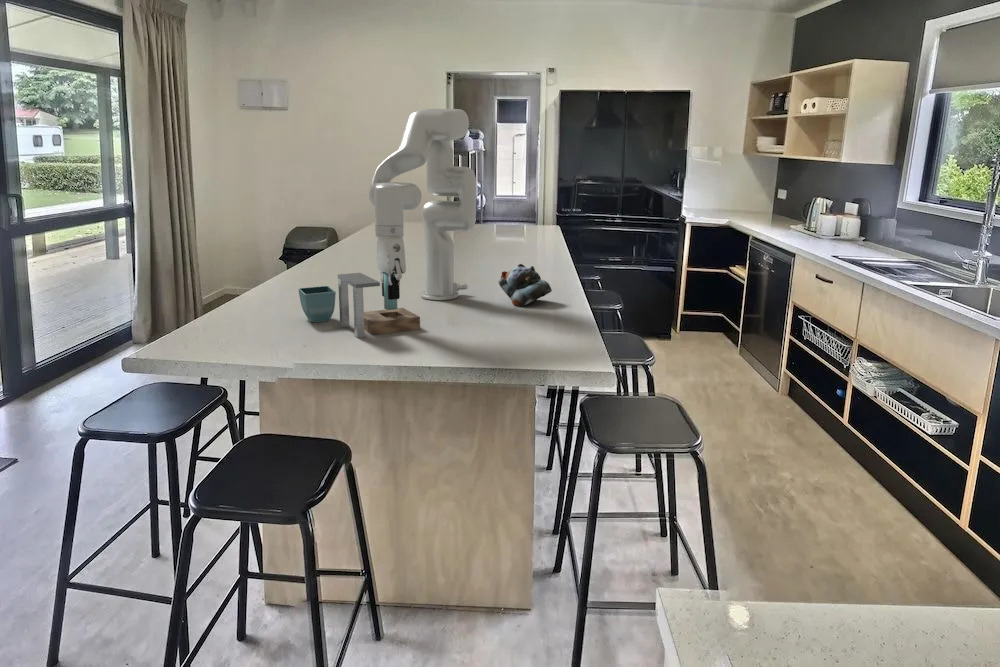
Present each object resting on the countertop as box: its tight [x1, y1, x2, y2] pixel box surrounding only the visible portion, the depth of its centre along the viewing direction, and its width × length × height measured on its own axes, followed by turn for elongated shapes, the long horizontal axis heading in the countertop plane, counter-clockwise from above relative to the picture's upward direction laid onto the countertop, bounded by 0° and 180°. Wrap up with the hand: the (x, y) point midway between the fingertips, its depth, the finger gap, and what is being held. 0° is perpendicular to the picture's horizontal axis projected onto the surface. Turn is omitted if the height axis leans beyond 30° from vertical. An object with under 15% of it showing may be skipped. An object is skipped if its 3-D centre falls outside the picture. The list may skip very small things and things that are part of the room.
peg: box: [383, 272, 398, 310], centre depth 197 cm, size 4×4×10 cm
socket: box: [364, 307, 421, 336], centre depth 199 cm, size 14×12×4 cm
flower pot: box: [297, 285, 336, 323], centre depth 204 cm, size 9×9×9 cm
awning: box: [337, 272, 381, 339], centre depth 193 cm, size 6×15×14 cm, turn 31°
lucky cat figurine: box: [497, 263, 553, 308], centre depth 231 cm, size 15×12×14 cm
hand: (390, 296), depth 198 cm, fingers closed on peg, 3 cm apart
